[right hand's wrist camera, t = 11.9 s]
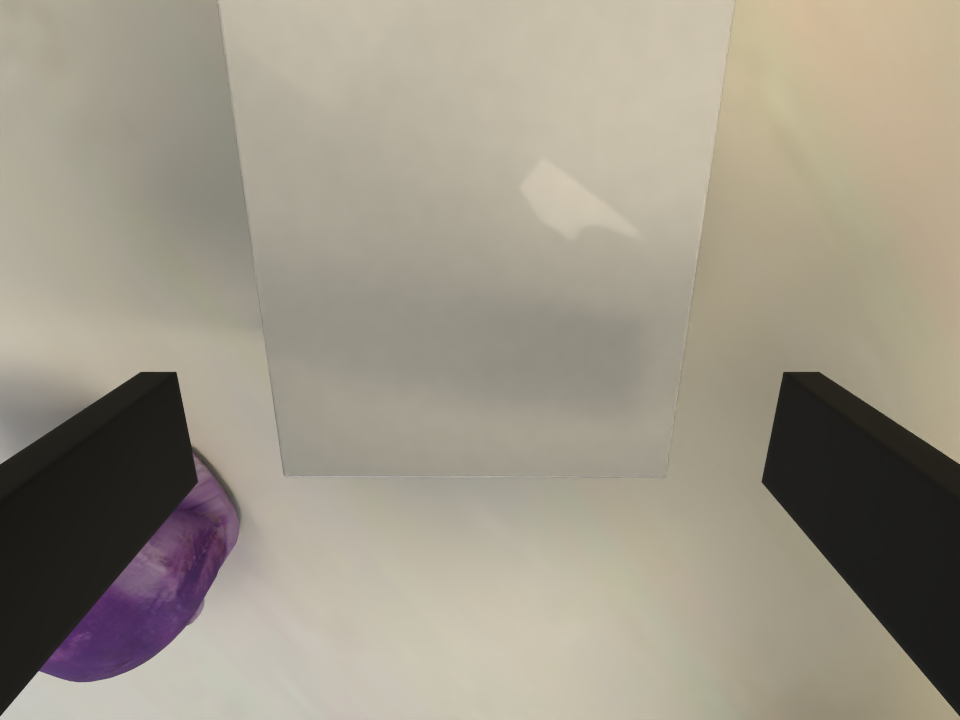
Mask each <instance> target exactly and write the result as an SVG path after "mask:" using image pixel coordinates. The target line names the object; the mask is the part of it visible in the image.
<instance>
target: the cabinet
mask: <svg viewBox="0 0 960 720" xmlns="http://www.w3.org/2000/svg"><path fill="white" fill-rule="evenodd" d="M735 1H736V0H217V5H218V12H219V19H220V26H221V33H222V40H223V47H224V54H225V61H226V69H227V76H228V83H229V90H230V97H231V104H232V111H233V118H234V125H235V133H236V140H237V147H238V154H239V161H240V168H241V175H242V182H243V189H244V197H245V204H246V211H247V218H248V225H249V232H250V239H251V246H252V253H253V260H254V268H255V275H256V282H257V289H258V296H259V303H260V310H261V317H262V324H263V332H264V339H265V346H266V353H267V360H268V367H269V374H270V381H271V388H272V396H273V403H274V410H275V417H276V424H277V431H278V438H279V445H280V452H281V459H282V467H283V474H284V476H285V477H430V478H665V477H666V474H667V467H668V460H669V453H670V446H671V439H672V432H673V426H674V419H675V412H676V405H677V398H678V391H679V384H680V378H681V371H682V364H683V357H684V350H685V343H686V337H687V330H688V323H689V316H690V309H691V302H692V295H693V289H694V282H695V275H696V268H697V261H698V254H699V247H700V241H701V234H702V227H703V220H704V213H705V206H706V199H707V193H708V186H709V179H710V172H711V165H712V158H713V152H714V145H715V138H716V131H717V124H718V117H719V110H720V104H721V97H722V90H723V83H724V76H725V69H726V62H727V56H728V49H729V42H730V35H731V28H732V21H733V14H734V8H735Z"/></svg>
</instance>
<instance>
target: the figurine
mask: <svg viewBox="0 0 960 720" xmlns="http://www.w3.org/2000/svg"><path fill="white" fill-rule="evenodd" d="M192 453H193V458H194V463H195V468H196V473H197V478H198V483H197V484H196V485H195V487H194V488H193V489H192V490H191V491H190V493H189V494H188V495H187V496H186V497H185V498H184V500H183V501H182V502H181V503H180V504H179V506H178V507H177V508H176V509H175V510H174V511H173V513H172V514H171V515H170V516H169V517H168V519H167V520H166V521H165V522H164V523H163V524H162V526H161V527H160V528H159V529H158V530H157V532H156V533H155V534H154V535H153V536H152V537H151V539H150V540H149V541H148V542H147V543H146V545H145V546H144V547H143V548H142V549H141V550H140V552H139V553H138V554H137V555H136V556H135V558H134V559H133V560H132V561H131V562H130V563H129V565H128V566H127V567H126V568H125V569H124V571H123V572H122V573H121V574H120V575H119V576H118V578H117V579H116V580H115V581H114V582H113V584H112V585H111V586H110V587H109V588H108V589H107V591H106V592H105V593H104V594H103V595H102V597H101V598H100V599H99V600H98V601H97V602H96V604H95V605H94V606H93V607H92V608H91V610H90V611H89V612H88V613H87V614H86V615H85V617H84V618H83V619H82V620H81V621H80V623H79V624H78V625H77V626H76V627H75V628H74V630H73V631H72V632H71V633H70V634H69V636H68V637H67V638H66V639H65V640H64V641H63V643H62V644H61V645H60V646H59V647H58V649H57V650H56V651H55V652H54V653H53V654H52V656H51V657H50V658H49V659H48V660H47V662H46V663H45V664H44V665H43V666H42V667H41V669H40V670H39V671H41V672H44V673H46V674H49V675H52V676H55V677H58V678H61V679H64V680H68V681H74V682H92V681H97V680H102V679H107V678H111V677H114V676H117V675H120V674H122V673H125V672H127V671H130V670H132V669H134V668H136V667H138V666H140V665H141V664H143V663H145V662H146V661H148V660H150V659H151V658H152V657H154V656H155V655H156V654H158V653H159V652H160V651H161V650H162V649H164V648H165V647H166V646H167V645H168V644H169V643H170V642H172V641H173V640H174V639H175V638H176V636H177V635H178V634H179V633H180V632H181V631H182V630H183V629H184V628H185V627H186V626H187V625H189V624H191V623H193V622H194V621H195V620H196V618H197V617H198V616H199V615H200V613H201V611H202V609H203V607H204V597H205V595H206V593H207V592H208V590H209V588H210V586H211V585H212V583H213V581H214V580H215V578H216V576H217V573H218V570H219V569H220V567H221V565H222V564H223V562H224V561H225V559H226V558H227V556H228V555H229V553H230V552H231V550H232V549H233V547H234V546H235V544H236V542H237V538H238V533H239V520H238V514H237V510H236V507H235V505H234V504H233V503H232V502H231V501H230V499H229V498H228V496H227V495H226V493H225V491H224V490H223V488H222V487H221V486H220V484H219V483H218V481H217V480H216V479H215V477H214V476H213V474H212V473H211V471H210V470H209V469H208V468H207V467H206V466H205V465H204V464H203V463H202V462H201V461H200V460H199V459H198V457H197V456H196V453H194V452H192Z"/></svg>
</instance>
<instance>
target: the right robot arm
mask: <svg viewBox="0 0 960 720" xmlns="http://www.w3.org/2000/svg"><path fill="white" fill-rule="evenodd" d="M197 483H198V478H197V473H196V468H195V463H194V458H193V453H192V448H191V443H190V438H189V433H188V428H187V423H186V418H185V413H184V408H183V403H182V398H181V393H180V388H179V383H178V378H177V373H176V372H140V373H139V374H137V375H136V376H134V377H133V378H131V379H130V380H128V381H127V382H125V383H123V384H122V385H120V386H119V387H117V388H116V389H114V390H113V391H111V392H110V393H108V394H107V395H105V396H104V397H102V398H101V399H99V400H98V401H96V402H95V403H93V404H91V405H90V406H88V407H87V408H85V409H84V410H82V411H81V412H79V413H78V414H76V415H75V416H73V417H72V418H70V419H69V420H67V421H66V422H64V423H63V424H61V425H60V426H58V427H56V428H55V429H53V430H52V431H50V432H49V433H47V434H46V435H44V436H43V437H41V438H40V439H38V440H37V441H35V442H34V443H32V444H31V445H29V446H28V447H26V448H25V449H23V450H21V451H20V452H18V453H17V454H15V455H14V456H12V457H11V458H9V459H8V460H6V461H5V462H3V463H2V464H0V716H1V715H2V714H3V712H4V711H5V710H6V709H7V708H8V706H9V705H10V704H11V703H12V702H13V701H14V699H15V698H16V697H17V696H18V695H19V693H20V692H21V691H22V690H23V689H24V688H25V686H26V685H27V684H28V683H29V682H30V680H31V679H32V678H33V677H34V676H35V675H36V673H37V672H38V671H39V670H40V669H41V667H42V666H43V665H44V664H45V663H46V662H47V660H48V659H49V658H50V657H51V656H52V654H53V653H54V652H55V651H56V650H57V649H58V647H59V646H60V645H61V644H62V643H63V641H64V640H65V639H66V638H67V637H68V636H69V634H70V633H71V632H72V631H73V630H74V628H75V627H76V626H77V625H78V624H79V623H80V621H81V620H82V619H83V618H84V617H85V615H86V614H87V613H88V612H89V611H90V610H91V608H92V607H93V606H94V605H95V604H96V602H97V601H98V600H99V599H100V598H101V597H102V595H103V594H104V593H105V592H106V591H107V589H108V588H109V587H110V586H111V585H112V584H113V582H114V581H115V580H116V579H117V578H118V576H119V575H120V574H121V573H122V572H123V571H124V569H125V568H126V567H127V566H128V565H129V563H130V562H131V561H132V560H133V559H134V558H135V556H136V555H137V554H138V553H139V552H140V550H141V549H142V548H143V547H144V546H145V545H146V543H147V542H148V541H149V540H150V539H151V537H152V536H153V535H154V534H155V533H156V532H157V530H158V529H159V528H160V527H161V526H162V524H163V523H164V522H165V521H166V520H167V519H168V517H169V516H170V515H171V514H172V513H173V511H174V510H175V509H176V508H177V507H178V506H179V504H180V503H181V502H182V501H183V500H184V498H185V497H186V496H187V495H188V494H189V493H190V491H191V490H192V489H193V488H194V487H195V485H196V484H197ZM762 483H763V484H764V485H765V487H766V488H767V489H768V490H769V491H770V493H771V494H772V495H773V496H774V497H775V498H776V500H777V501H778V502H779V503H780V504H781V506H782V507H783V508H784V509H785V510H786V511H787V513H788V514H789V515H790V516H791V517H792V519H793V520H794V521H795V522H796V523H797V524H798V526H799V527H800V528H801V529H802V530H803V532H804V533H805V534H806V535H807V536H808V537H809V539H810V540H811V541H812V542H813V543H814V545H815V546H816V547H817V548H818V549H819V550H820V552H821V553H822V554H823V555H824V556H825V558H826V559H827V560H828V561H829V562H830V563H831V565H832V566H833V567H834V568H835V569H836V571H837V572H838V573H839V574H840V575H841V576H842V578H843V579H844V580H845V581H846V582H847V584H848V585H849V586H850V587H851V588H852V589H853V591H854V592H855V593H856V594H857V595H858V597H859V598H860V599H861V600H862V601H863V602H864V604H865V605H866V606H867V607H868V608H869V610H870V611H871V612H872V613H873V614H874V615H875V617H876V618H877V619H878V620H879V621H880V623H881V624H882V625H883V626H884V627H885V628H886V630H887V631H888V632H889V633H890V634H891V636H892V637H893V638H894V639H895V640H896V641H897V643H898V644H899V645H900V646H901V647H902V649H903V650H904V651H905V652H906V653H907V654H908V656H909V657H910V658H911V659H912V660H913V662H914V663H915V664H916V665H917V666H918V667H919V669H920V670H921V671H922V672H923V673H924V675H925V676H926V677H927V678H928V679H929V680H930V682H931V683H932V684H933V685H934V686H935V688H936V689H937V690H938V691H939V692H940V693H941V695H942V696H943V697H944V698H945V699H946V701H947V702H948V703H949V704H950V705H951V706H952V708H953V709H954V710H955V711H956V712H957V714H958V715H959V716H960V464H958V463H957V462H955V461H954V460H952V459H951V458H949V457H948V456H946V455H945V454H943V453H942V452H940V451H939V450H937V449H935V448H934V447H932V446H931V445H929V444H928V443H926V442H925V441H923V440H922V439H920V438H919V437H917V436H916V435H914V434H913V433H911V432H910V431H908V430H907V429H905V428H904V427H902V426H900V425H899V424H897V423H896V422H894V421H893V420H891V419H890V418H888V417H887V416H885V415H884V414H882V413H881V412H879V411H878V410H876V409H875V408H873V407H872V406H870V405H869V404H867V403H865V402H864V401H862V400H861V399H859V398H858V397H856V396H855V395H853V394H852V393H850V392H849V391H847V390H846V389H844V388H843V387H841V386H840V385H838V384H837V383H835V382H833V381H832V380H830V379H829V378H827V377H826V376H824V375H823V374H821V373H820V372H784V373H783V378H782V383H781V388H780V393H779V398H778V403H777V408H776V413H775V418H774V423H773V428H772V433H771V438H770V443H769V448H768V453H767V458H766V463H765V468H764V473H763V478H762Z"/></svg>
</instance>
